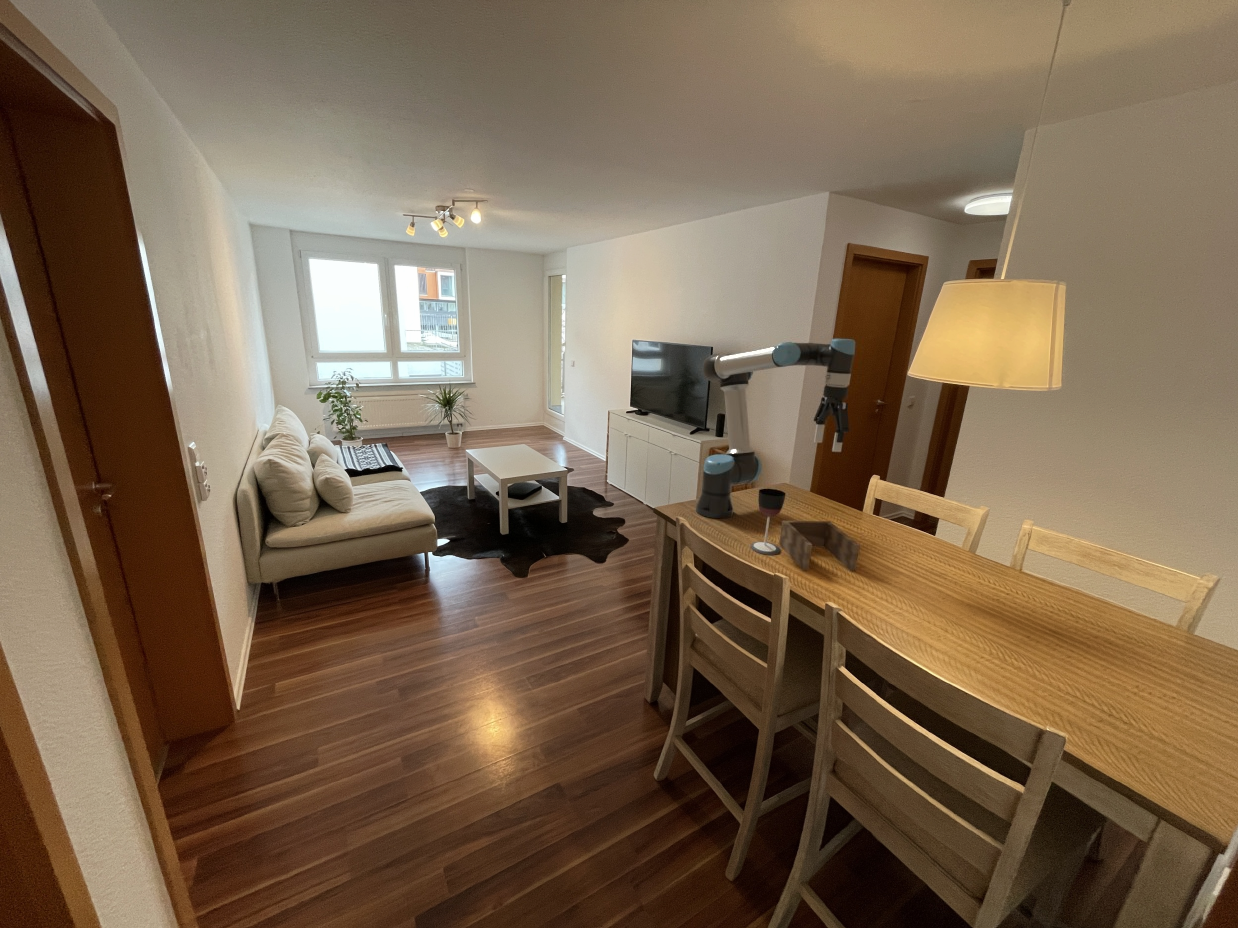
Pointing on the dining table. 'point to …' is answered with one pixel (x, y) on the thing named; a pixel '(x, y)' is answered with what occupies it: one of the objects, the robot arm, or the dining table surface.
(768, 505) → the wineglass
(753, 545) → the felt coaster
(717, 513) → the robot arm
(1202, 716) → the dining table surface
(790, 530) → the walnut u-shaped bracket
